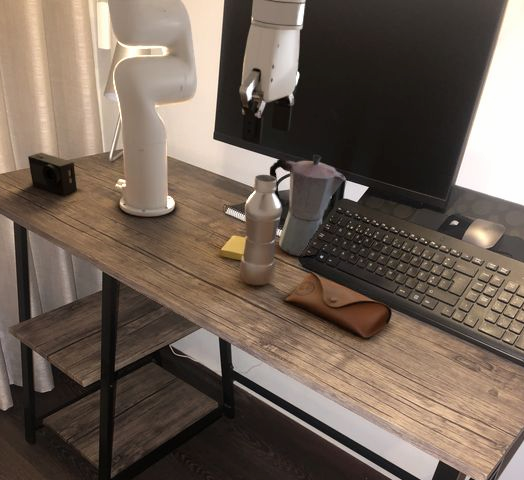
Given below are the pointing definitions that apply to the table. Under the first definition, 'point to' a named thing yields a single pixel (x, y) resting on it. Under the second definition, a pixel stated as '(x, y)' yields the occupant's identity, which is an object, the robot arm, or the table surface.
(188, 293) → the table surface
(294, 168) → the moka pot
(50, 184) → the digital camera
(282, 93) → the robot arm
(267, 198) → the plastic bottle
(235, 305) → the table surface
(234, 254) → the sticky note pad
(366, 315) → the sunglasses case
